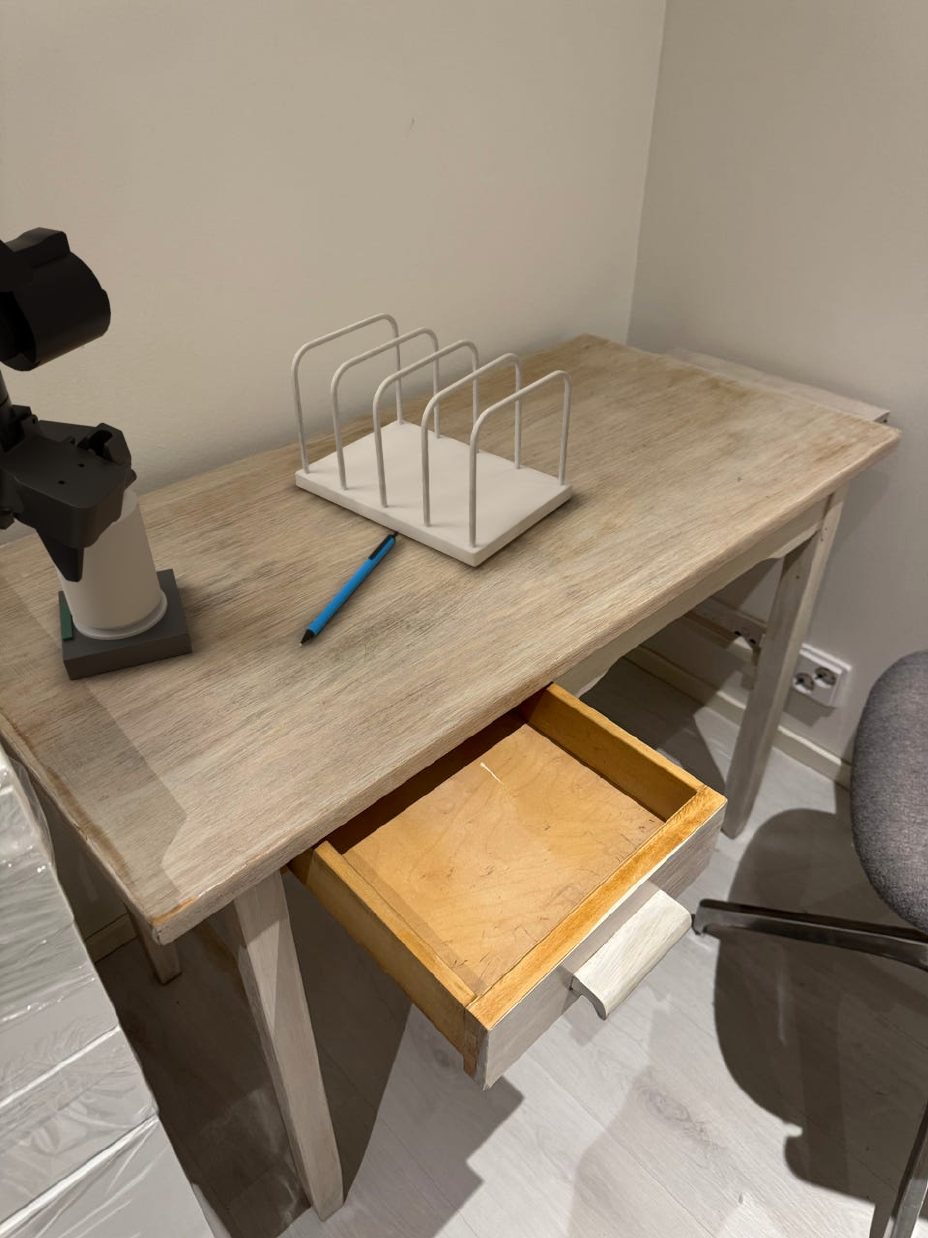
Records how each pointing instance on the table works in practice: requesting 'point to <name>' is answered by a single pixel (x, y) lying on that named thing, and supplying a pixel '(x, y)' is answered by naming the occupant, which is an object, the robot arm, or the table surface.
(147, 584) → the can
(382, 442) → the file sorter
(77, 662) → the scale
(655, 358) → the table surface
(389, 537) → the pen
